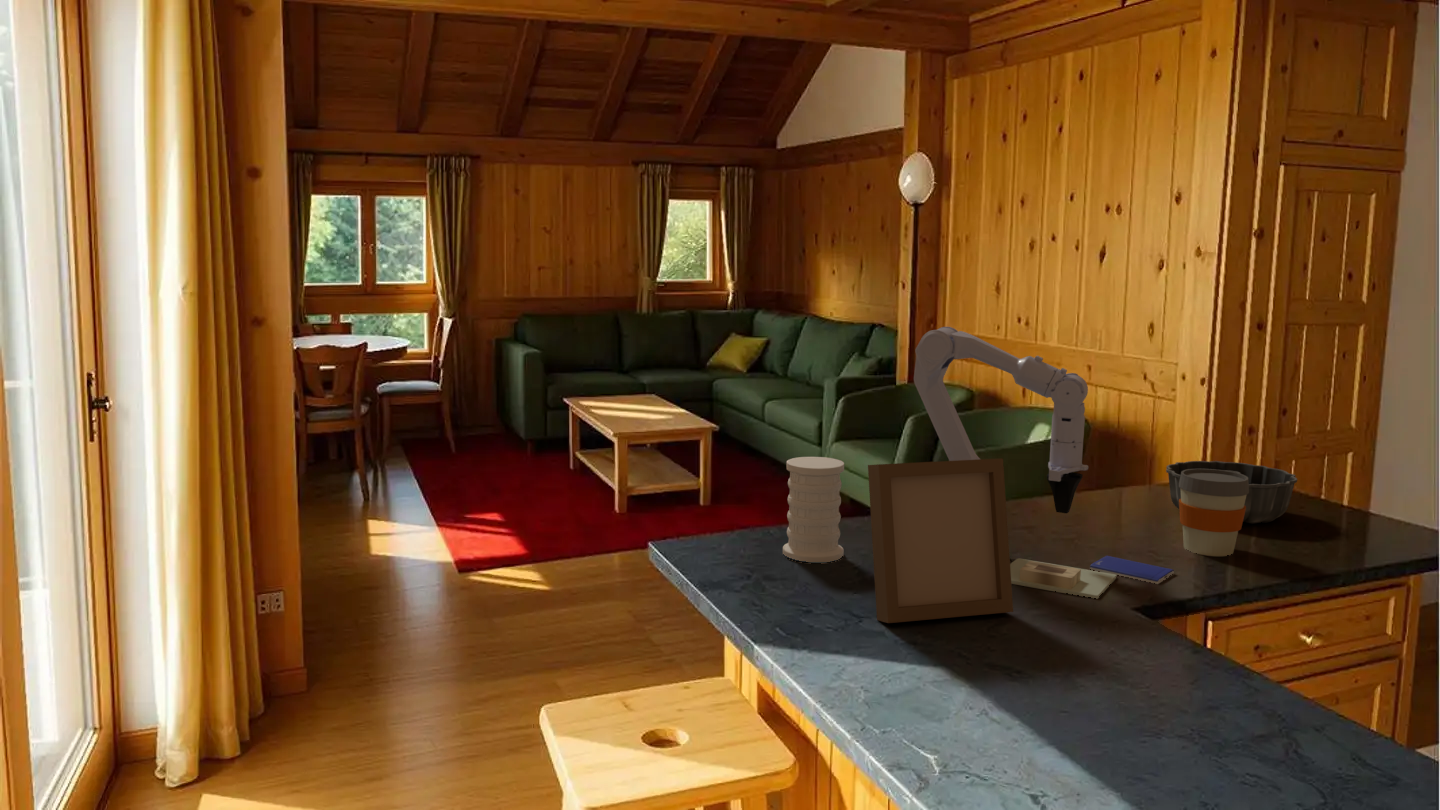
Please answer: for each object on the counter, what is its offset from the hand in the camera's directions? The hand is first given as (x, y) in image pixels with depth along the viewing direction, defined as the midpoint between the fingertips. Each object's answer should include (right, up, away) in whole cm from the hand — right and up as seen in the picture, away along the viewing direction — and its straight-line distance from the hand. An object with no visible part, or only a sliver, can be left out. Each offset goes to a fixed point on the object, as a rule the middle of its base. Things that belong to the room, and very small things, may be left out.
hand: (1062, 512), depth 204 cm
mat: (-4, -11, -8) cm, 14 cm away
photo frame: (-29, -14, -24) cm, 40 cm away
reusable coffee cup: (+32, -9, +12) cm, 36 cm away
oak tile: (-4, -10, -8) cm, 13 cm away
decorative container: (-46, -9, +6) cm, 47 cm away
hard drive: (+12, -11, -3) cm, 17 cm away
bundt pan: (+49, -5, +39) cm, 63 cm away
